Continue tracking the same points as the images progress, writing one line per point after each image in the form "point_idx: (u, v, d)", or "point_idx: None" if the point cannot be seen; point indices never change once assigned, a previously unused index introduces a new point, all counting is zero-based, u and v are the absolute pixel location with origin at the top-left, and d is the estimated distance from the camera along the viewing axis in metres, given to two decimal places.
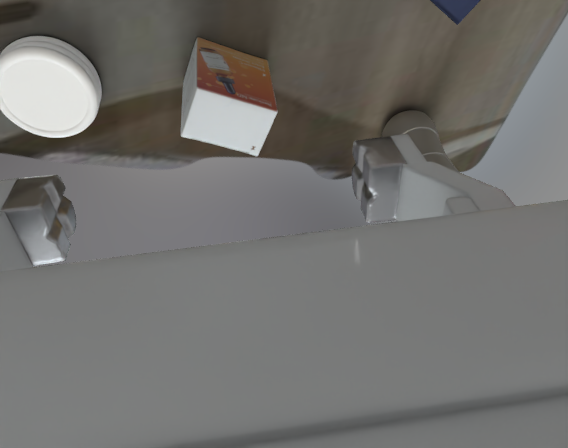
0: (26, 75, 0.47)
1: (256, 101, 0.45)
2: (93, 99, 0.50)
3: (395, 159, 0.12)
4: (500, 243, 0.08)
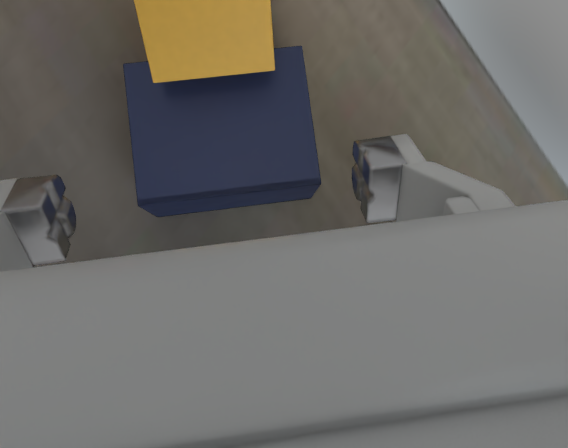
0: None
1: None
2: None
3: (395, 159, 0.12)
4: (500, 243, 0.08)
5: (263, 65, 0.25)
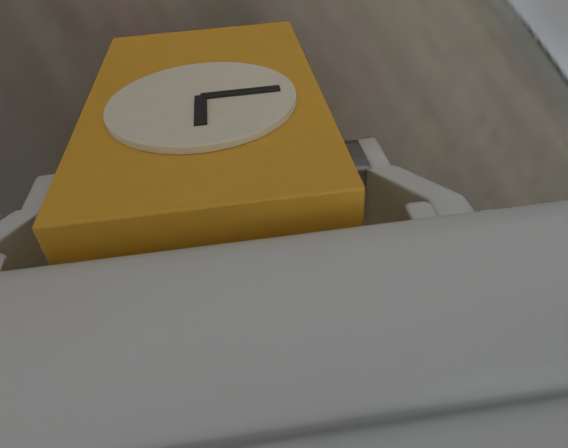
0: None
1: None
2: None
3: (360, 163, 0.12)
4: (500, 243, 0.08)
5: None
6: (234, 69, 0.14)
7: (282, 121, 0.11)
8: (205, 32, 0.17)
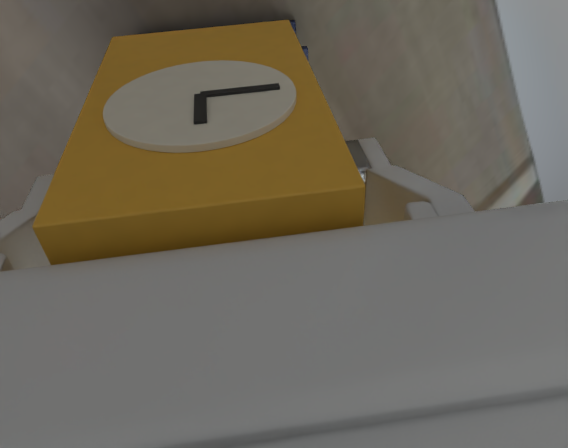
0: None
1: None
2: None
3: (360, 163, 0.12)
4: (500, 243, 0.08)
5: None
6: (234, 67, 0.14)
7: (282, 119, 0.11)
8: (204, 31, 0.17)
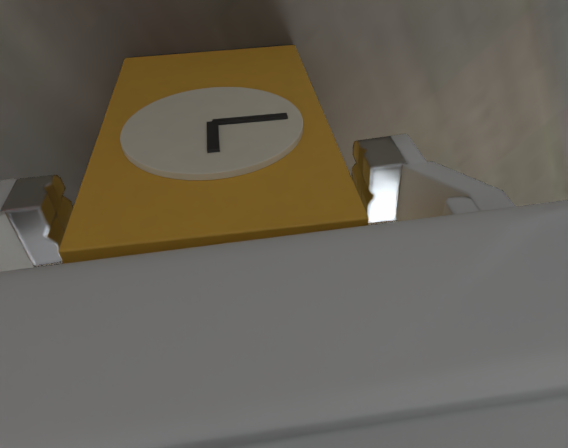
0: None
1: None
2: None
3: (395, 159, 0.12)
4: (500, 243, 0.08)
5: None
6: (243, 95, 0.14)
7: (290, 149, 0.12)
8: (214, 54, 0.18)
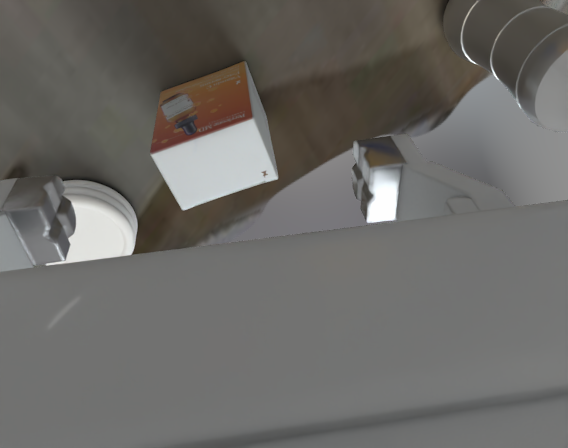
0: None
1: (224, 123, 0.34)
2: (115, 217, 0.45)
3: (395, 159, 0.12)
4: (500, 243, 0.08)
5: None
6: None
7: None
8: None
